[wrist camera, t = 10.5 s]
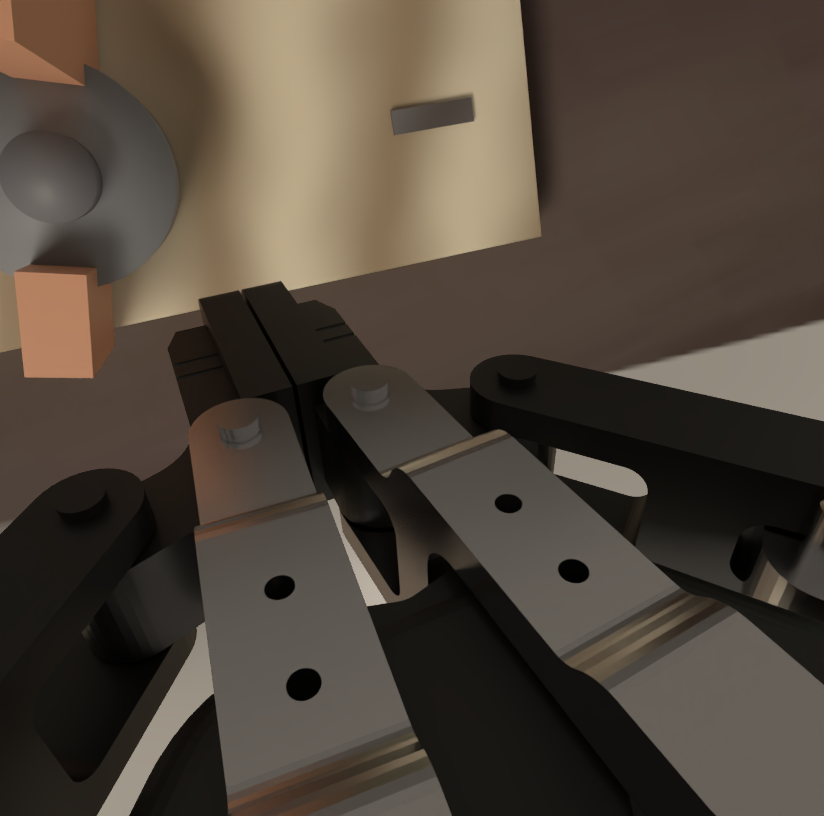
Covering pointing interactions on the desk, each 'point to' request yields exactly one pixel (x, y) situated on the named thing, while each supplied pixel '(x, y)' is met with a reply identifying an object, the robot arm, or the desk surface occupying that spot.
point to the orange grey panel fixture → (73, 184)
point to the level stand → (320, 139)
